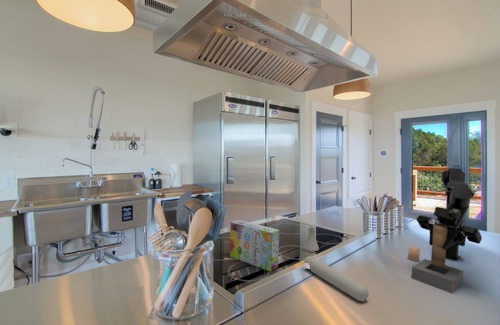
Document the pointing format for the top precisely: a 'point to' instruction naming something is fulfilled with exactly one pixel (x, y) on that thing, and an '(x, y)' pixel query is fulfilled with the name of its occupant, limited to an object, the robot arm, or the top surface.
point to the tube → (338, 279)
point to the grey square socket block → (437, 275)
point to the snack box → (254, 244)
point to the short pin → (413, 253)
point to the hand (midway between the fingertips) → (437, 246)
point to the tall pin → (438, 245)
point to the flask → (311, 241)
